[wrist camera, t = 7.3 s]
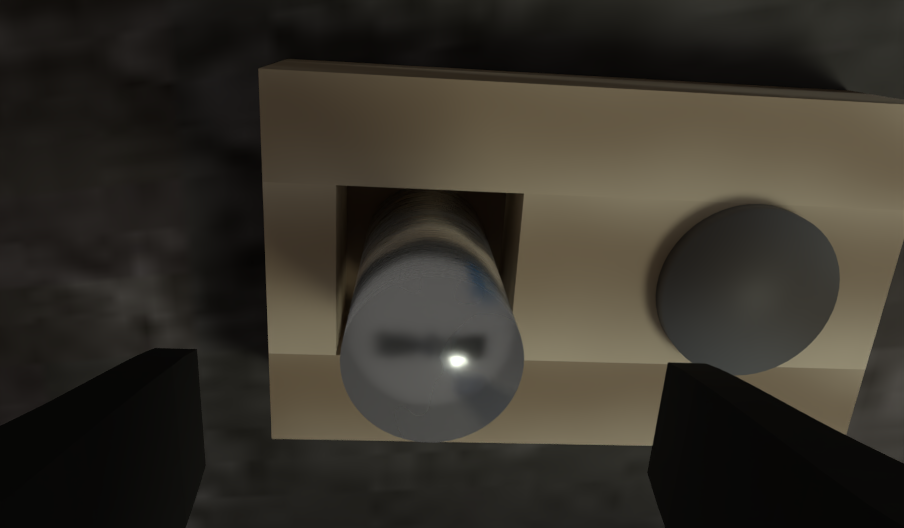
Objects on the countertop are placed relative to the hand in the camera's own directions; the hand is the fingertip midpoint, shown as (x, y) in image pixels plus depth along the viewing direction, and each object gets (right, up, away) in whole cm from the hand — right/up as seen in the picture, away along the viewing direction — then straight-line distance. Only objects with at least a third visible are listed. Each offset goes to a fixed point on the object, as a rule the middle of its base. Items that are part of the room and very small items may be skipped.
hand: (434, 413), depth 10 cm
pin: (0, +3, +8) cm, 8 cm away
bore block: (+3, +3, +9) cm, 10 cm away
